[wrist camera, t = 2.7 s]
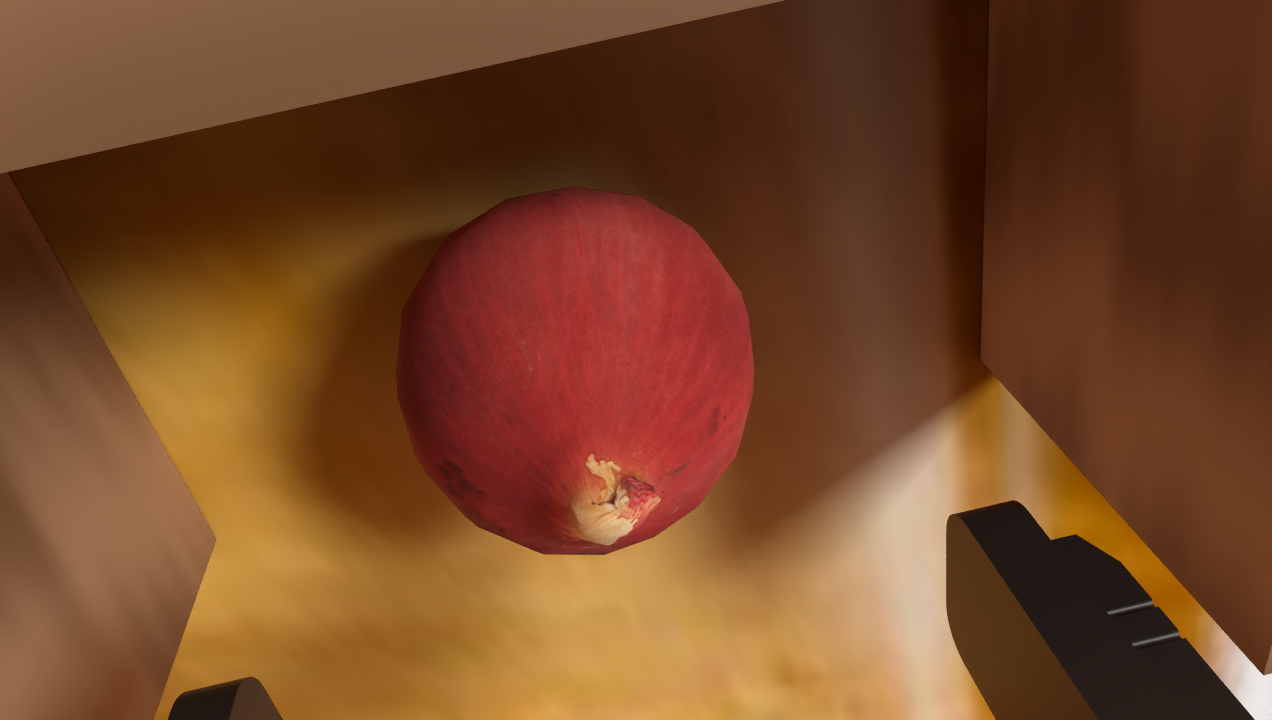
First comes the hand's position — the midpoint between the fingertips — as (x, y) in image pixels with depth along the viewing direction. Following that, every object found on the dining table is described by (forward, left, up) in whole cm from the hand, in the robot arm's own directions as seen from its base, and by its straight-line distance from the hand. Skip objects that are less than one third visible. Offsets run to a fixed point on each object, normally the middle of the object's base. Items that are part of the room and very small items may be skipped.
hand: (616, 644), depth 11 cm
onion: (0, 0, -10) cm, 10 cm away
